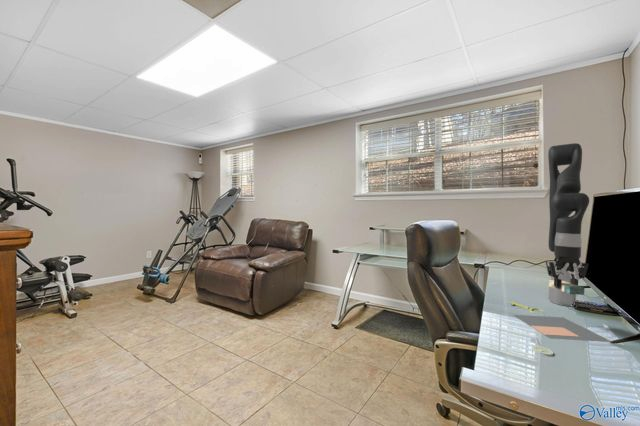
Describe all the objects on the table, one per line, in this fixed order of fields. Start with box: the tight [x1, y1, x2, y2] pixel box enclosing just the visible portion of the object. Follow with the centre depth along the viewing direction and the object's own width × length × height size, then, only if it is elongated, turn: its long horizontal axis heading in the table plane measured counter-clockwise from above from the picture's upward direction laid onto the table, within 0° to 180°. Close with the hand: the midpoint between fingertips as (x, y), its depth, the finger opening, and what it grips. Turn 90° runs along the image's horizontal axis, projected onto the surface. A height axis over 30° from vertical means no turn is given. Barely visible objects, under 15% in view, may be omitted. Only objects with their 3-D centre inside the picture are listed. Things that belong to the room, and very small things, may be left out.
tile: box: [548, 279, 585, 296], centre depth 103 cm, size 10×5×2 cm, turn 175°
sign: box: [531, 341, 554, 357], centre depth 88 cm, size 5×1×15 cm
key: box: [509, 301, 545, 315], centre depth 118 cm, size 7×12×2 cm, turn 52°
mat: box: [512, 314, 613, 343], centre depth 100 cm, size 20×20×1 cm
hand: (565, 288), depth 103 cm, fingers closed on tile, 5 cm apart
